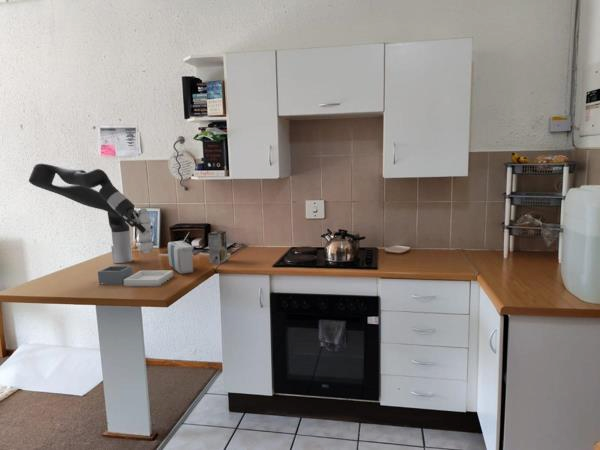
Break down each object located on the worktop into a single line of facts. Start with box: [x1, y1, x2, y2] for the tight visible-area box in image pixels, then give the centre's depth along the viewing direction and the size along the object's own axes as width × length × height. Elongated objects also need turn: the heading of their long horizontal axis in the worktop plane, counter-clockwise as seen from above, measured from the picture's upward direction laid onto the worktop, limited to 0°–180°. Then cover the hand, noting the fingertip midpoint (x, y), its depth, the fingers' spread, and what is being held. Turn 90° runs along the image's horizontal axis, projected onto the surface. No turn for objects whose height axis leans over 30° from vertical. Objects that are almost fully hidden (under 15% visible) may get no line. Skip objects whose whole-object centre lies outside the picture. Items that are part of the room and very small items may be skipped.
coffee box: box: [207, 230, 228, 265], centre depth 230 cm, size 9×6×16 cm
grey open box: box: [97, 265, 134, 285], centre depth 197 cm, size 11×10×6 cm
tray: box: [123, 269, 174, 287], centre depth 195 cm, size 16×16×3 cm
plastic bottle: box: [137, 207, 154, 254], centre depth 192 cm, size 6×7×20 cm
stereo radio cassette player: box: [167, 231, 194, 275], centre depth 214 cm, size 21×8×20 cm, turn 29°
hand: (147, 230), depth 192 cm, fingers closed on plastic bottle, 6 cm apart
